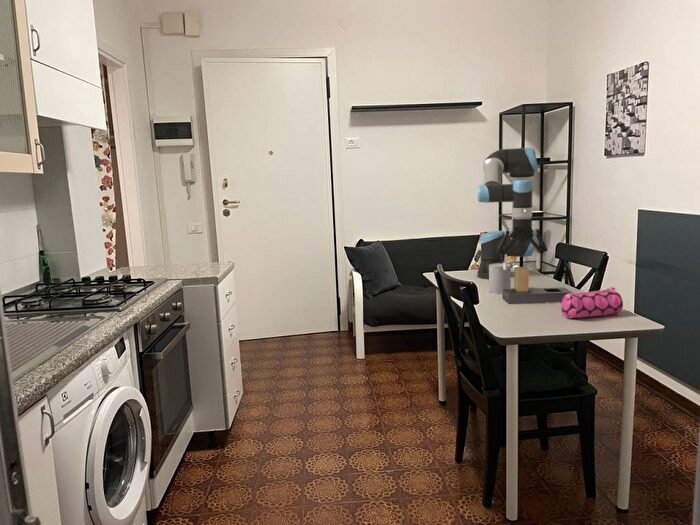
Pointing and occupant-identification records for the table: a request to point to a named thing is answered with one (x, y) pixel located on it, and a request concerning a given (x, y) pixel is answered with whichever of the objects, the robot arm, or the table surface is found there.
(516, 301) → the gray slotted block
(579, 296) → the pencil case
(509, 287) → the gray cylinder
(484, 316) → the table surface
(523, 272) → the brass peg
